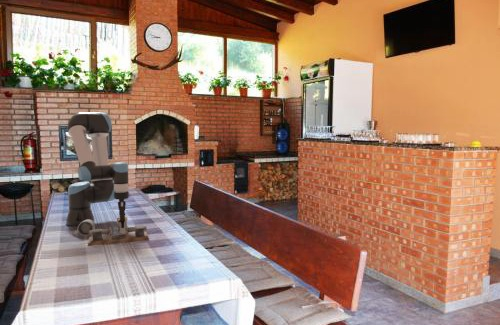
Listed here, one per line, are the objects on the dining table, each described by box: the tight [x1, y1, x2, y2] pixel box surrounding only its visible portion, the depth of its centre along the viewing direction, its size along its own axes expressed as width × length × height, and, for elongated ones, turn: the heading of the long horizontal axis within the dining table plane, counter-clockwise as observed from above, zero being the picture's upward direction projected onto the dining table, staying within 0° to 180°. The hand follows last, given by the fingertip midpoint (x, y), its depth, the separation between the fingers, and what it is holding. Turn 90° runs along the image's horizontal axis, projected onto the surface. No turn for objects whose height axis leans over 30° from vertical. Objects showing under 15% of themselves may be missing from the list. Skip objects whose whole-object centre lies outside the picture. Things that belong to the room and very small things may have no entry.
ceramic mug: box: [72, 219, 96, 237], centre depth 204 cm, size 11×8×8 cm
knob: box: [116, 216, 128, 233], centre depth 211 cm, size 5×5×7 cm
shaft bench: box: [87, 224, 150, 246], centre depth 195 cm, size 28×11×7 cm, turn 110°
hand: (122, 230), depth 211 cm, fingers open, 12 cm apart
